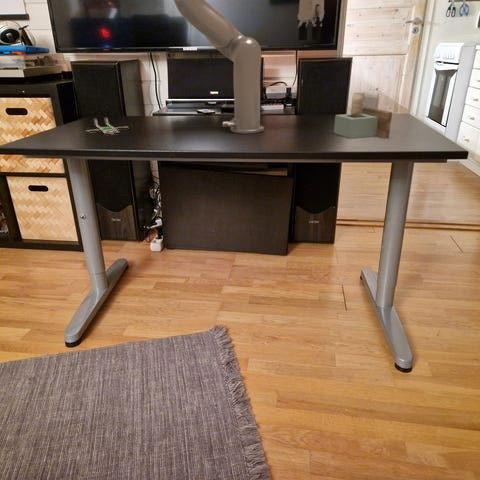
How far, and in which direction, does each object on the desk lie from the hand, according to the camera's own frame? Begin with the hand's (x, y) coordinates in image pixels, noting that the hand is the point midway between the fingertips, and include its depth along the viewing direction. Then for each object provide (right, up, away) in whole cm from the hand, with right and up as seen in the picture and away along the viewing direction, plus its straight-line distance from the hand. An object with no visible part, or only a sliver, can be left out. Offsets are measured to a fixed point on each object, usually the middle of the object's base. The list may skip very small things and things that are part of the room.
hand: (308, 40), depth 142 cm
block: (+15, -34, -5) cm, 38 cm away
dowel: (+15, -33, -5) cm, 37 cm away
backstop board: (+12, -36, -5) cm, 38 cm away
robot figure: (-77, -27, +19) cm, 84 cm away
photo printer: (+25, -23, +21) cm, 40 cm away
